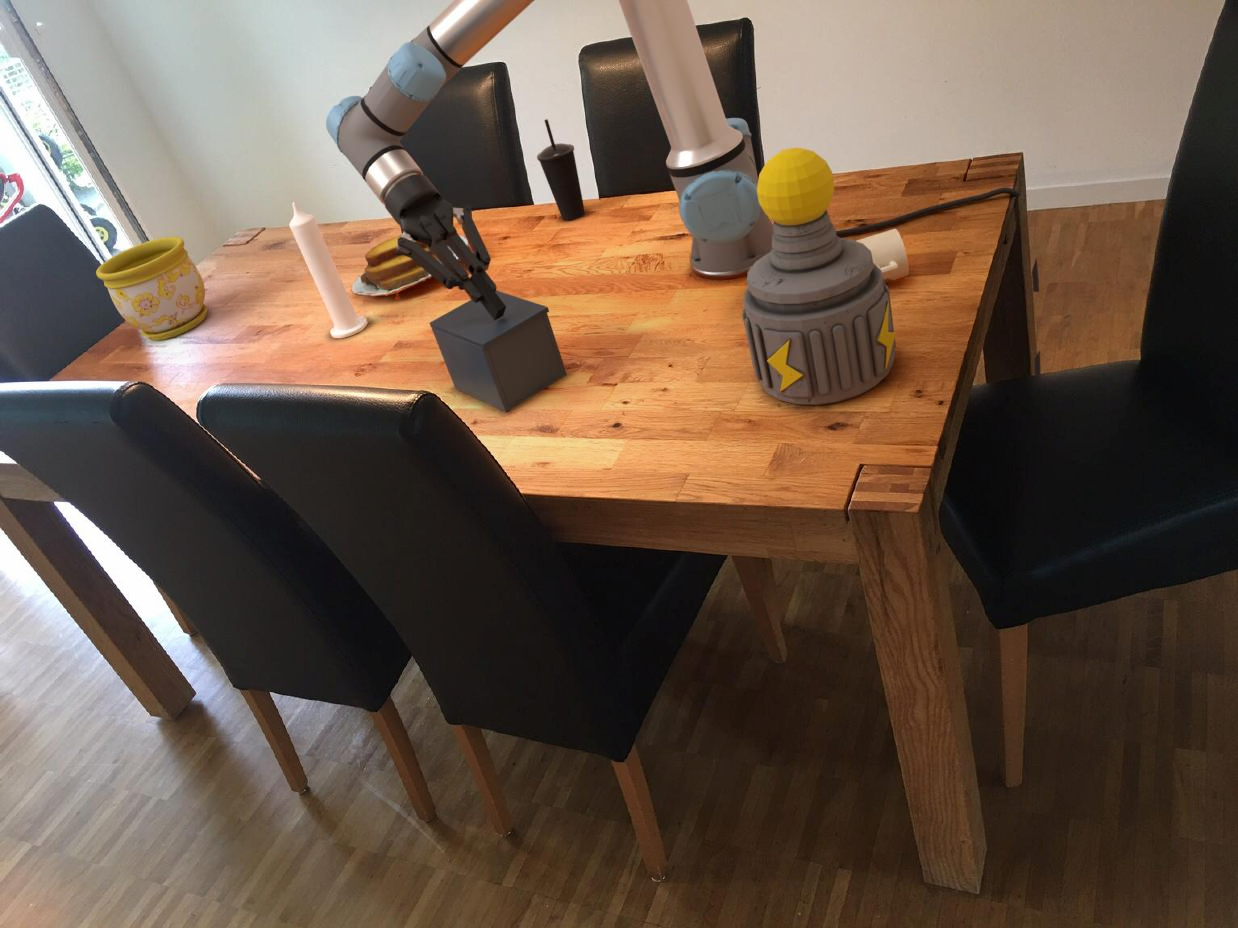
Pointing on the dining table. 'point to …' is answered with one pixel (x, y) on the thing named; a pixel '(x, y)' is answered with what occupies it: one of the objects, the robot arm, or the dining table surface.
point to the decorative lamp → (814, 294)
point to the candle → (325, 275)
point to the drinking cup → (562, 177)
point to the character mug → (888, 254)
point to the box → (504, 364)
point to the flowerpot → (156, 287)
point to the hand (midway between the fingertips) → (500, 313)
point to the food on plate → (391, 270)
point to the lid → (488, 320)
